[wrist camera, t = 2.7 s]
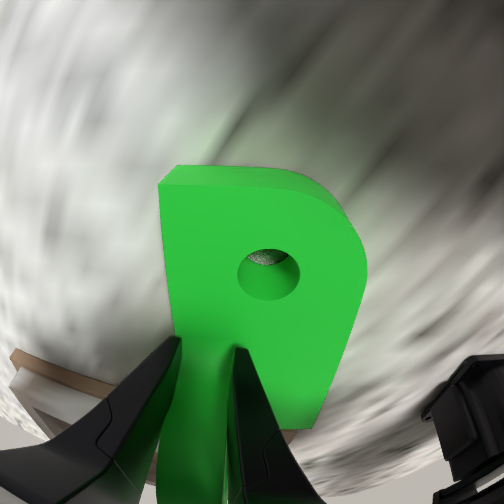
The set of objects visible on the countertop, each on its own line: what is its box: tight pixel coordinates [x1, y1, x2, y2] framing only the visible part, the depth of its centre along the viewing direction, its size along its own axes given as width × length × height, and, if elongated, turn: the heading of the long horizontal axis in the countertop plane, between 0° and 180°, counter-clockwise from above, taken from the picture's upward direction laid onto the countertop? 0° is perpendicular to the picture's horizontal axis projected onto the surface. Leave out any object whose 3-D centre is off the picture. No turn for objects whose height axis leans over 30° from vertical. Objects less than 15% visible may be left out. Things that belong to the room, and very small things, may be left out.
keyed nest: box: [9, 349, 297, 500], centre depth 18 cm, size 20×13×3 cm, turn 82°
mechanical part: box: [156, 165, 367, 504], centre depth 9 cm, size 12×6×8 cm, turn 178°
